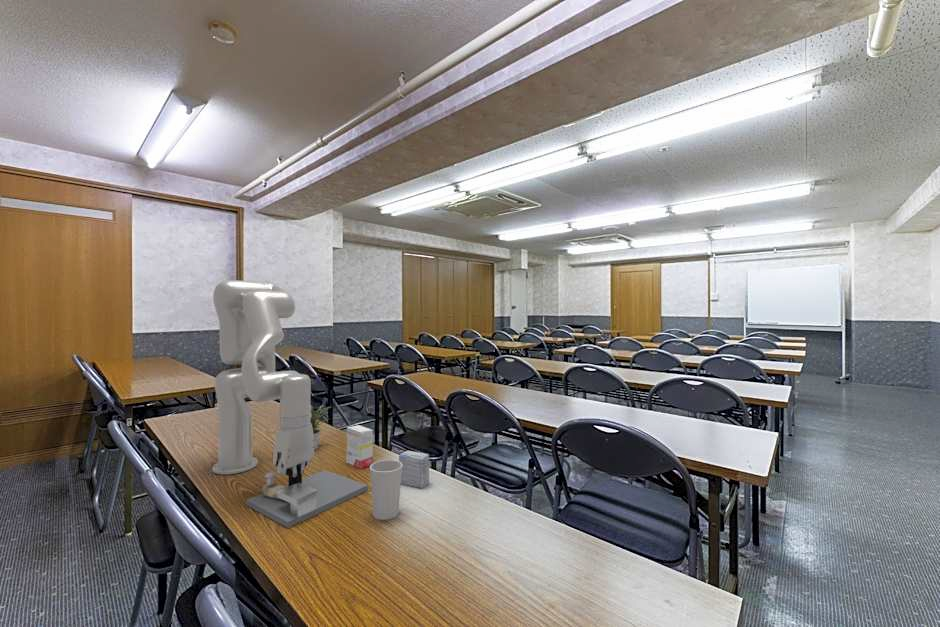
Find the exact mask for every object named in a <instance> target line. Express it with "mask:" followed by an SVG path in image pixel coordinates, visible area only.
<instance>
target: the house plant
mask: <svg viewBox="0 0 940 627" xmlns="http://www.w3.org/2000/svg"><path fill="white" fill-rule="evenodd" d="M323 406H324V404H323V405H320V406H319V407H318V408H317V409H316V411H315V410H314V409H313V408H314V407H313V405H311V412H310V413H312V417H310V423H311V424H312V428H313V434H314V449H316V448H317V449H319V441H320V436H321V429H319V428H320V426H321V425H322V424H323V423H324V422H326V421H328V418H326V419H321V417H322V416H323V415H325V414H326V413H327V411H325V410H326V409H330V408H331V406H328V407H324V408H323V409H322V407H323ZM324 411H325V412H324ZM330 419H331V418H329V420H330ZM320 422H321V423H320ZM317 449H316V450H317Z"/></svg>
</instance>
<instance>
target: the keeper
mask: <svg viewBox="0 0 940 627" xmlns="http://www.w3.org/2000/svg"><path fill="white" fill-rule="evenodd" d="M277 497H278V498H280V499H282V500H284V501H287V502H289V503H291V514H292V515H294V516H296V517H300V516H302V515H304V514H306V513H308V512H311V511H313V510H315V509H316V497H318V490H316V489H313V488H311V487H309V486H306V485H304V484H302V483H297V484H294V485H292V486H289V487H286V488H284V489H281V490H279V491H277Z"/></svg>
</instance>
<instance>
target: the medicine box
mask: <svg viewBox="0 0 940 627" xmlns="http://www.w3.org/2000/svg"><path fill="white" fill-rule="evenodd" d="M398 461H399V462H401V463H402V475H401V485H404V486H408V485H409V487H413V486H414V487H413V488H418V487H419V488H420V489H423V488H424V487H426V486H427V485H428V484H430V454H429V453H424V452H418V451H413V450H405V451H403V452H402V453H401V454H399V455H398ZM419 488H418V489H419Z"/></svg>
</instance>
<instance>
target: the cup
mask: <svg viewBox="0 0 940 627" xmlns="http://www.w3.org/2000/svg"><path fill="white" fill-rule="evenodd" d="M369 471H370V472H369V474H370V484H371V497H372V498H371V499H372V500H371V501H372V513H373V514H372V516H373V517H374V519H376V520H380V521H386V520H387V521H388V520H391V519H394V518H396V517H397V516H398V515H399V514H398V513H400V499H401V498H400V497H401V496H400V495H401V485H402V484H401V475H402V463H401V462H399V460H397V459H396V460H395V459H383V460H377V461H375V462H373V464H371V465H370V466H369Z"/></svg>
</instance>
